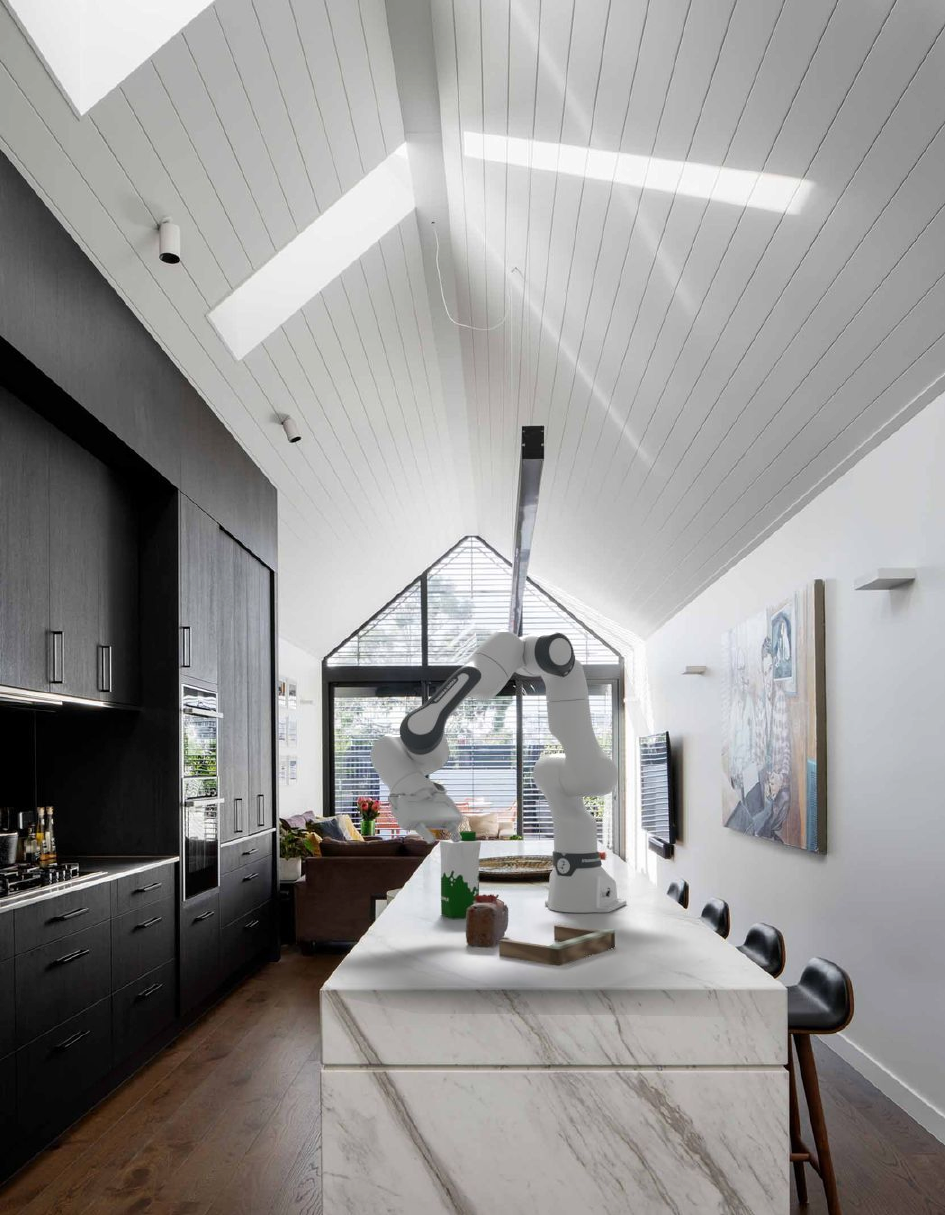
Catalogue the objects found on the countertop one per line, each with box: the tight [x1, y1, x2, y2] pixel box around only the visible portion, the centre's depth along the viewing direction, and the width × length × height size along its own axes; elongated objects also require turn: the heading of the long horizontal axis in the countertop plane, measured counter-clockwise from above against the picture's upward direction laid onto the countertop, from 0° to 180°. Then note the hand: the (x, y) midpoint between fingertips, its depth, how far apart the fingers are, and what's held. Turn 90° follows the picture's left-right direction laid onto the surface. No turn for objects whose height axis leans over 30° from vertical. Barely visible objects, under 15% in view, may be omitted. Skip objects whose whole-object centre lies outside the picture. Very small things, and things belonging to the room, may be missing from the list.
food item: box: [465, 893, 509, 948], centre depth 210 cm, size 14×8×10 cm, turn 170°
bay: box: [498, 924, 616, 967], centre depth 199 cm, size 21×14×4 cm, turn 141°
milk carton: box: [439, 830, 482, 920], centre depth 241 cm, size 9×9×20 cm
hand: (445, 841), depth 220 cm, fingers open, 8 cm apart
